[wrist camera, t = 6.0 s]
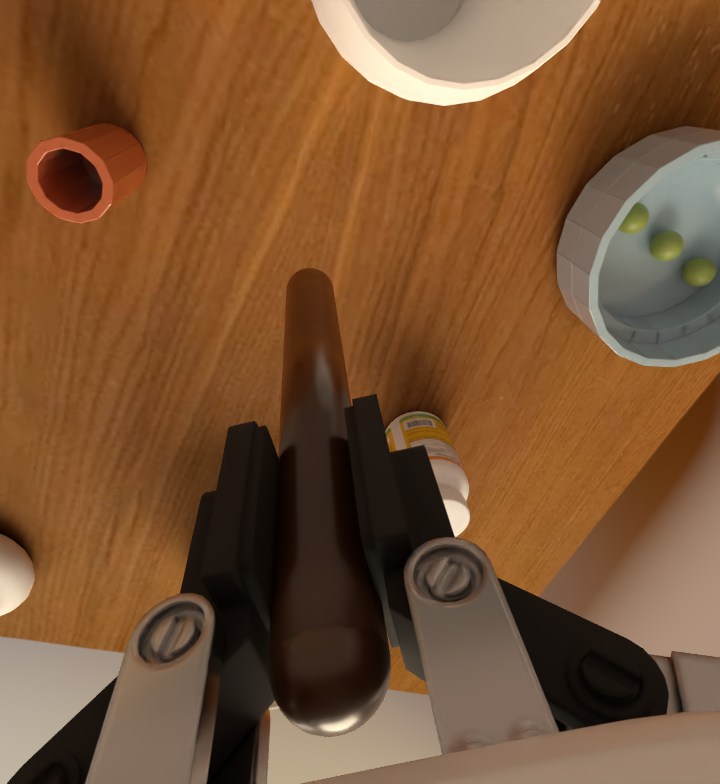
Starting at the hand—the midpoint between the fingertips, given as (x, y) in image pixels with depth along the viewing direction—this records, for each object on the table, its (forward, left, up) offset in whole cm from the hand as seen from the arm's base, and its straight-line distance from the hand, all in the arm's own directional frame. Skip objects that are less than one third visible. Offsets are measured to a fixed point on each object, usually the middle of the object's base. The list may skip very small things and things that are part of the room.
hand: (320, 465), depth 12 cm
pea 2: (+8, +23, -24) cm, 34 cm away
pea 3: (+11, +25, -24) cm, 37 cm away
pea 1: (+6, +20, -24) cm, 32 cm away
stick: (0, 0, -11) cm, 11 cm away
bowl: (+8, +23, -26) cm, 35 cm away
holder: (-5, -10, -26) cm, 28 cm away
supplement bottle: (+20, +4, -26) cm, 33 cm away
